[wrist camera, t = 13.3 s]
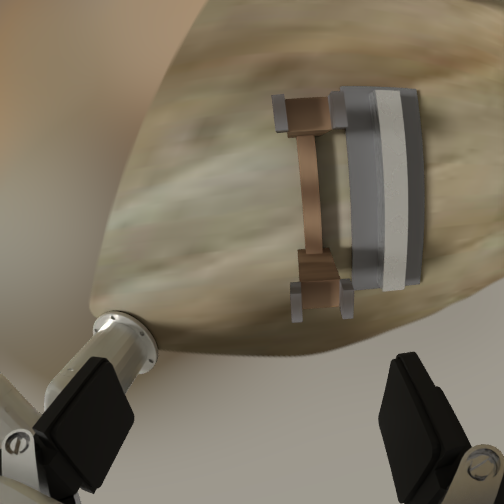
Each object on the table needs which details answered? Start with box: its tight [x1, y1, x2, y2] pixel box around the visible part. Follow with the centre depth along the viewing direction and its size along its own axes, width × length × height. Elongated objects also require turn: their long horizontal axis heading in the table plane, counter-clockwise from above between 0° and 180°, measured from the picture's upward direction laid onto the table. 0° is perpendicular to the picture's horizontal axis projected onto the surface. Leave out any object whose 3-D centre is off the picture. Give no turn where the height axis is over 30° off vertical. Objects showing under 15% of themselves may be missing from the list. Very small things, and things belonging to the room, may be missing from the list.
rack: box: [271, 91, 354, 323], centre depth 30 cm, size 20×6×12 cm, turn 6°
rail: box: [369, 90, 408, 291], centre depth 33 cm, size 24×3×3 cm, turn 6°
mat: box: [340, 86, 424, 290], centre depth 34 cm, size 26×10×1 cm, turn 6°
